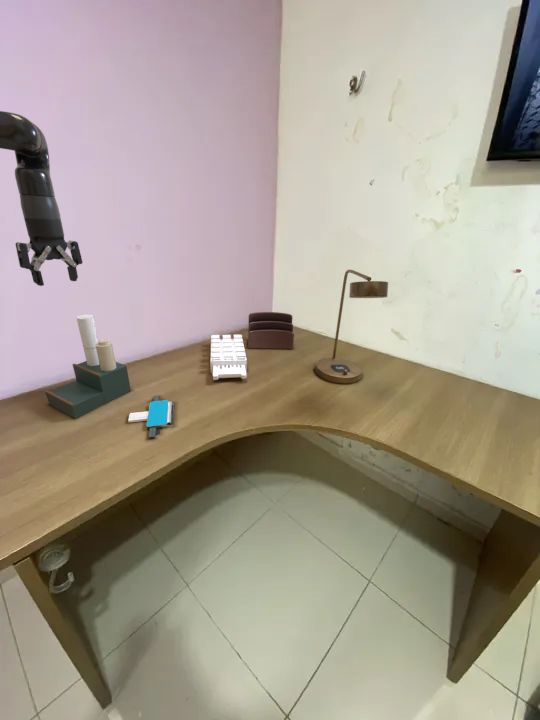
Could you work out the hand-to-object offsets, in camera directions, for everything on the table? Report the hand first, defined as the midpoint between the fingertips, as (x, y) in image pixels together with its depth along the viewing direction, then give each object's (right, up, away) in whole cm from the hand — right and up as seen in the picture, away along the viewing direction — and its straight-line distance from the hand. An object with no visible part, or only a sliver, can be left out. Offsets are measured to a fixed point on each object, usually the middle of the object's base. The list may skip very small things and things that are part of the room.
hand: (57, 283), depth 83 cm
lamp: (+84, -28, +30) cm, 93 cm away
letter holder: (+57, -14, +57) cm, 82 cm away
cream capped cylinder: (+8, -23, +11) cm, 27 cm away
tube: (+2, -22, +14) cm, 26 cm away
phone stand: (+24, -37, +5) cm, 44 cm away
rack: (+2, -32, +12) cm, 34 cm away
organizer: (+41, -22, +39) cm, 60 cm away
